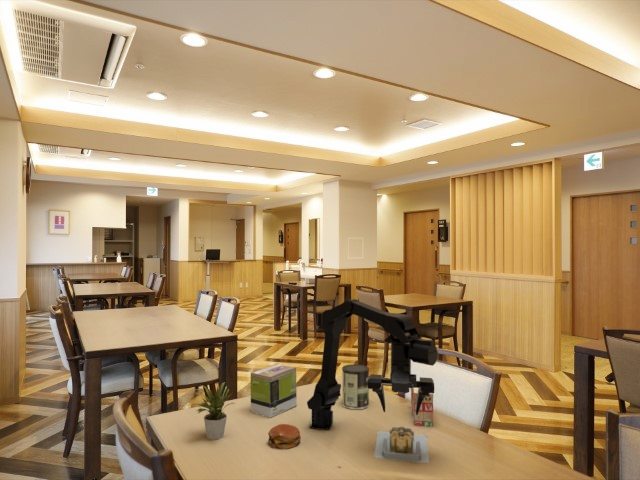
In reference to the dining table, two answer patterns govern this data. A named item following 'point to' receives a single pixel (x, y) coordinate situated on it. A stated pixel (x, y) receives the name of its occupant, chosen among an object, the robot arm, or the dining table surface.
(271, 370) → the tea box
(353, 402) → the coffee can
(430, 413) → the stack of blocks
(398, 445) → the brass gear
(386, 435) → the gear board
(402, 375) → the robot arm
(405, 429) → the gear
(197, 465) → the dining table surface
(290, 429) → the burger
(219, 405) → the house plant
